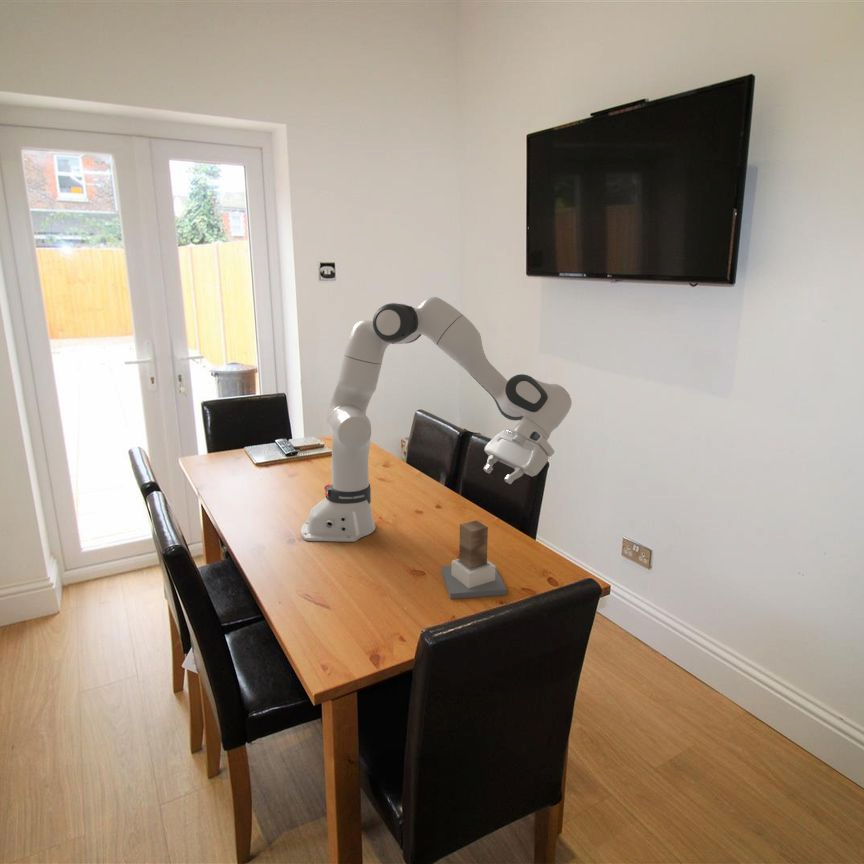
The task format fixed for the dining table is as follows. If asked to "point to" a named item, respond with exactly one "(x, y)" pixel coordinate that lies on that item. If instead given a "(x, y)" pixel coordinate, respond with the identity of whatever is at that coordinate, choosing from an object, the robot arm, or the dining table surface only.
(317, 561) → the dining table surface
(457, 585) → the base board
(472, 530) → the walnut column
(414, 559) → the dining table surface
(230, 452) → the dining table surface
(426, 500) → the dining table surface
